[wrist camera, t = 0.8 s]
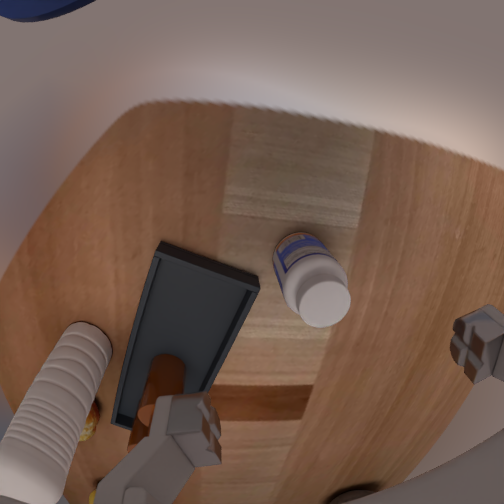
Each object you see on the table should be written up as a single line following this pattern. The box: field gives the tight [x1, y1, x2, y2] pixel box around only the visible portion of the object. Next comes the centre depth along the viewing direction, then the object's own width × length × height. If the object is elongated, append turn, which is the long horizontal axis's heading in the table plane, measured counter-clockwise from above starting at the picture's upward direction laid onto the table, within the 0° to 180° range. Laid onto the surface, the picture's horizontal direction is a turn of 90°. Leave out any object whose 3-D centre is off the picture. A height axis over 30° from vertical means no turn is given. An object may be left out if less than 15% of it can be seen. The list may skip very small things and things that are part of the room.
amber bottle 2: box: [138, 354, 187, 437], centre depth 30 cm, size 4×4×11 cm
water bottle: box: [0, 322, 112, 504], centre depth 22 cm, size 9×6×25 cm
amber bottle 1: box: [127, 399, 148, 453], centre depth 32 cm, size 4×4×11 cm
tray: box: [111, 241, 260, 430], centre depth 34 cm, size 27×10×3 cm, turn 157°
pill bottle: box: [273, 233, 351, 328], centre depth 27 cm, size 5×5×10 cm
